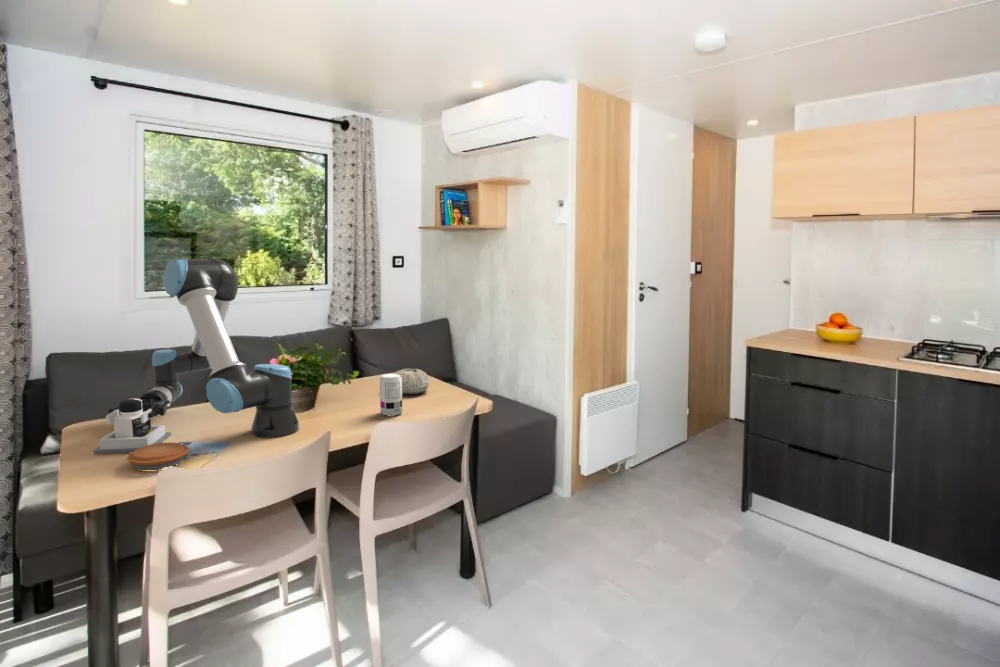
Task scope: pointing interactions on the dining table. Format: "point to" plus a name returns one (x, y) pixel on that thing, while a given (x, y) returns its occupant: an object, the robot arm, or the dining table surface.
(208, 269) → the robot arm
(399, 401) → the supplement can
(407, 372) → the grey squat round piece
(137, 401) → the medicine bottle
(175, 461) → the pie
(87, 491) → the dining table surface
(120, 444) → the dock
